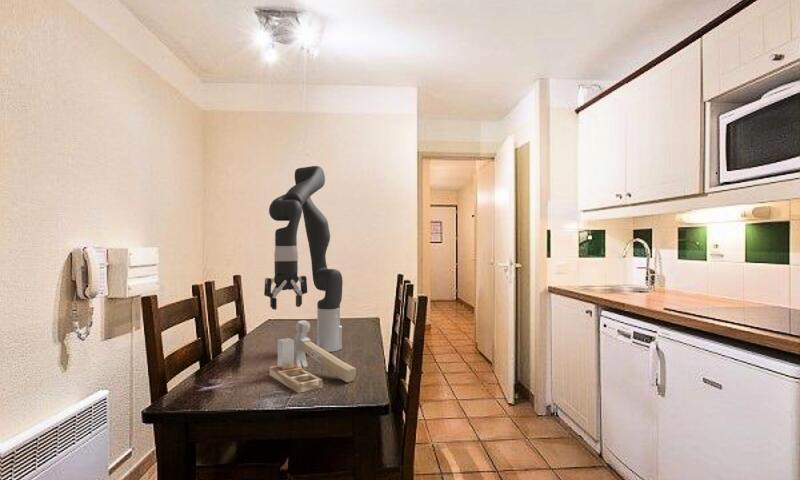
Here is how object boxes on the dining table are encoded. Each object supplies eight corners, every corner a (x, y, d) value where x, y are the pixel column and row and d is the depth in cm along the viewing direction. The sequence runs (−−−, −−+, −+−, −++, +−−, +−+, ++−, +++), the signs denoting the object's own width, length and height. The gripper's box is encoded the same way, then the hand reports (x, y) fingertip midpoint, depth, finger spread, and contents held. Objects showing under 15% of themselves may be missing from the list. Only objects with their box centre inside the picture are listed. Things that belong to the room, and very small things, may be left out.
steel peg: (288, 373, 152) (289, 338, 152) (293, 376, 149) (294, 340, 149) (277, 375, 150) (277, 339, 150) (282, 378, 146) (282, 341, 147)
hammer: (360, 351, 143) (305, 319, 163) (349, 354, 140) (294, 321, 160) (352, 397, 146) (299, 360, 165) (341, 401, 142) (288, 362, 162)
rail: (292, 371, 155) (292, 363, 155) (322, 387, 138) (322, 378, 138) (269, 375, 150) (269, 366, 150) (298, 393, 133) (298, 383, 133)
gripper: (300, 258, 158) (300, 304, 158) (261, 259, 149) (261, 308, 149) (310, 259, 152) (310, 307, 152) (270, 260, 143) (270, 311, 144)
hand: (286, 307), depth 151 cm, fingers open, 8 cm apart
